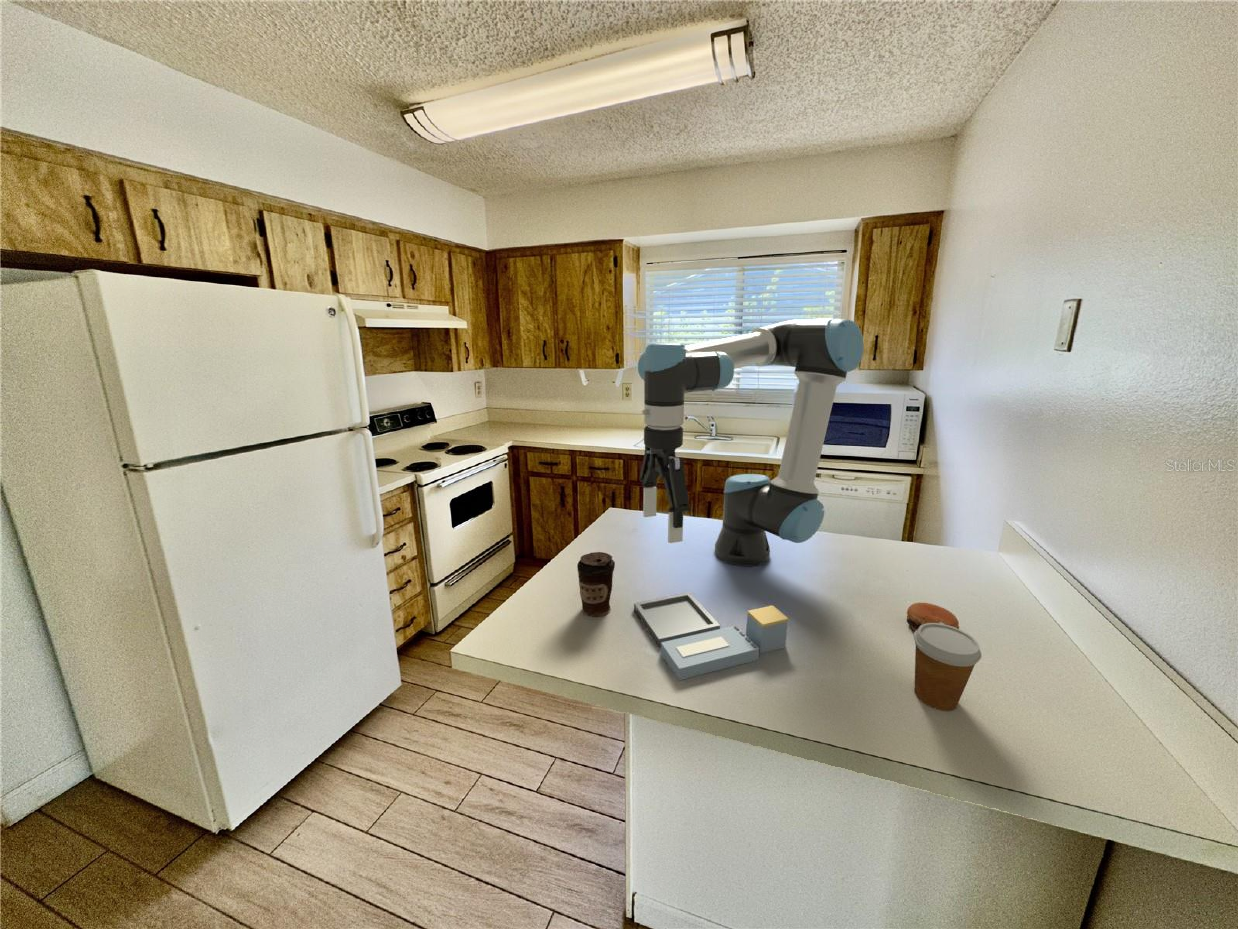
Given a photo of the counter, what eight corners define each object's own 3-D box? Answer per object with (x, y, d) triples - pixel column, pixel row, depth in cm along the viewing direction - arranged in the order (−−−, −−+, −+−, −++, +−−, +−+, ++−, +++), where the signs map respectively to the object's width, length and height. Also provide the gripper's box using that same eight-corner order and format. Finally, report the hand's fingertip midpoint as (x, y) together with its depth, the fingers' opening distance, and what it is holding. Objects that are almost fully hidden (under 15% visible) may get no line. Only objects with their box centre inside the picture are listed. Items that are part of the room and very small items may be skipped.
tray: (688, 598, 114) (689, 592, 114) (719, 632, 102) (720, 625, 101) (633, 610, 110) (634, 603, 109) (658, 646, 97) (659, 639, 97)
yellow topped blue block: (769, 632, 102) (772, 605, 100) (785, 647, 97) (788, 618, 95) (745, 638, 100) (747, 610, 98) (759, 653, 95) (762, 624, 93)
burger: (932, 614, 108) (935, 596, 107) (968, 640, 99) (973, 620, 98) (893, 620, 106) (897, 601, 105) (927, 646, 97) (931, 626, 96)
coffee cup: (610, 622, 105) (609, 569, 101) (573, 618, 107) (571, 565, 103) (618, 601, 113) (618, 551, 110) (584, 597, 115) (582, 547, 111)
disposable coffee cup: (892, 680, 88) (902, 622, 85) (941, 677, 89) (953, 619, 85) (928, 720, 79) (941, 658, 75) (983, 717, 79) (998, 654, 76)
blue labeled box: (735, 635, 101) (736, 624, 100) (758, 659, 93) (759, 647, 93) (660, 653, 95) (661, 641, 94) (678, 680, 88) (679, 667, 87)
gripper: (624, 416, 103) (625, 508, 109) (671, 441, 80) (668, 557, 86) (657, 413, 105) (656, 505, 111) (712, 438, 82) (706, 551, 88)
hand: (661, 528), depth 98 cm, fingers open, 13 cm apart
